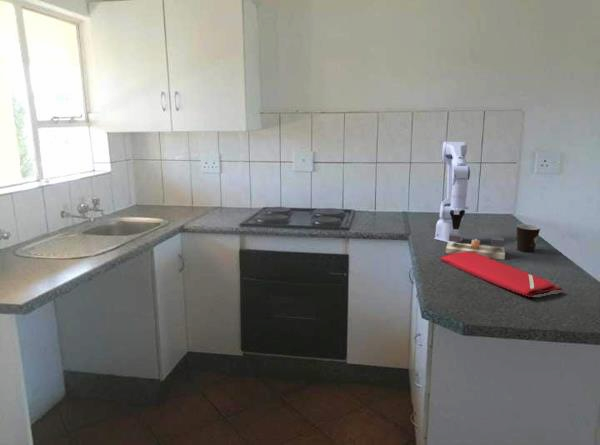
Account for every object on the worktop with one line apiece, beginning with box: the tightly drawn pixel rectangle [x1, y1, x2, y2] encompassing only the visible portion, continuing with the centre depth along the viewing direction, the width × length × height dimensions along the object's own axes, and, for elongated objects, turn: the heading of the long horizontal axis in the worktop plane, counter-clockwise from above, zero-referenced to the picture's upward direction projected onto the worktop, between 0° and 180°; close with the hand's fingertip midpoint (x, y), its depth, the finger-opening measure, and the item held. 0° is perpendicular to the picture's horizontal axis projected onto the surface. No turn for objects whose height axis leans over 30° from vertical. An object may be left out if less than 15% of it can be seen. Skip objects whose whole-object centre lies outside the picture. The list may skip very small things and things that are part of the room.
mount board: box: [445, 242, 506, 260], centre depth 190 cm, size 22×10×3 cm, turn 68°
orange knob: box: [470, 238, 481, 249], centre depth 189 cm, size 3×3×3 cm
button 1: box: [449, 233, 462, 243], centre depth 192 cm, size 4×4×2 cm
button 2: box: [490, 236, 505, 248], centre depth 186 cm, size 4×4×2 cm
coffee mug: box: [516, 224, 541, 254], centre depth 193 cm, size 12×9×10 cm
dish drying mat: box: [439, 252, 563, 298], centre depth 164 cm, size 16×41×4 cm, turn 22°
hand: (456, 228), depth 191 cm, fingers closed
